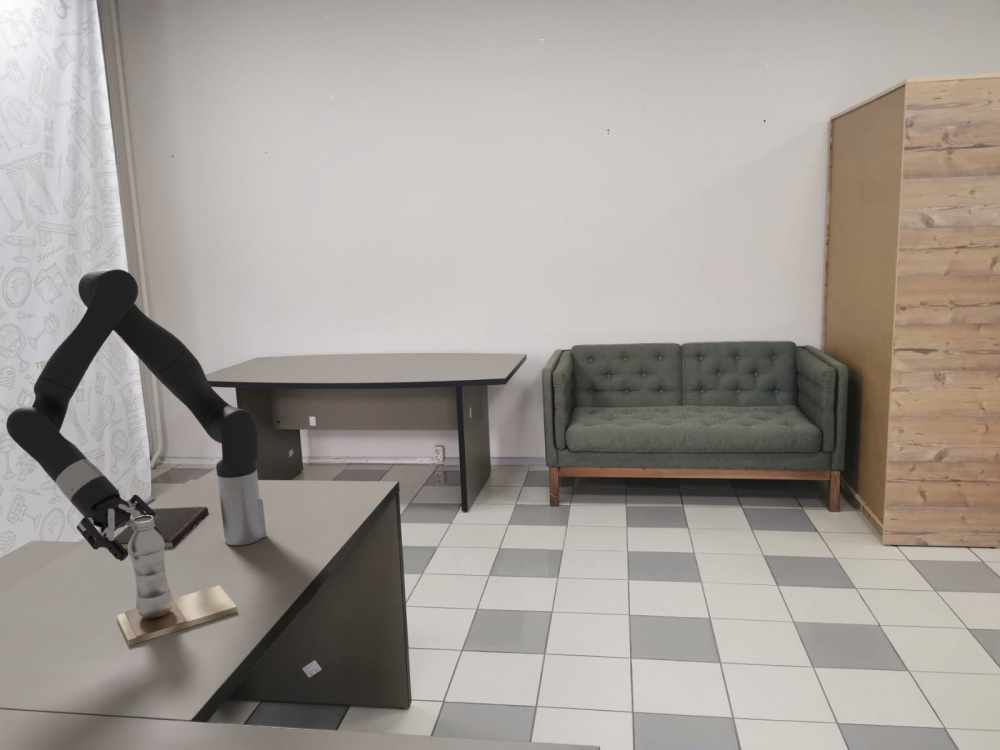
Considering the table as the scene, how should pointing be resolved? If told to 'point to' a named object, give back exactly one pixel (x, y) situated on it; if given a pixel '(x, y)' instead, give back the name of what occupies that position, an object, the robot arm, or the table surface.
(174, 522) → the hardcover book
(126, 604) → the table surface
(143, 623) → the board
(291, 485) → the table surface
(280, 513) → the table surface
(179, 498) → the table surface
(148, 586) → the plastic bottle
